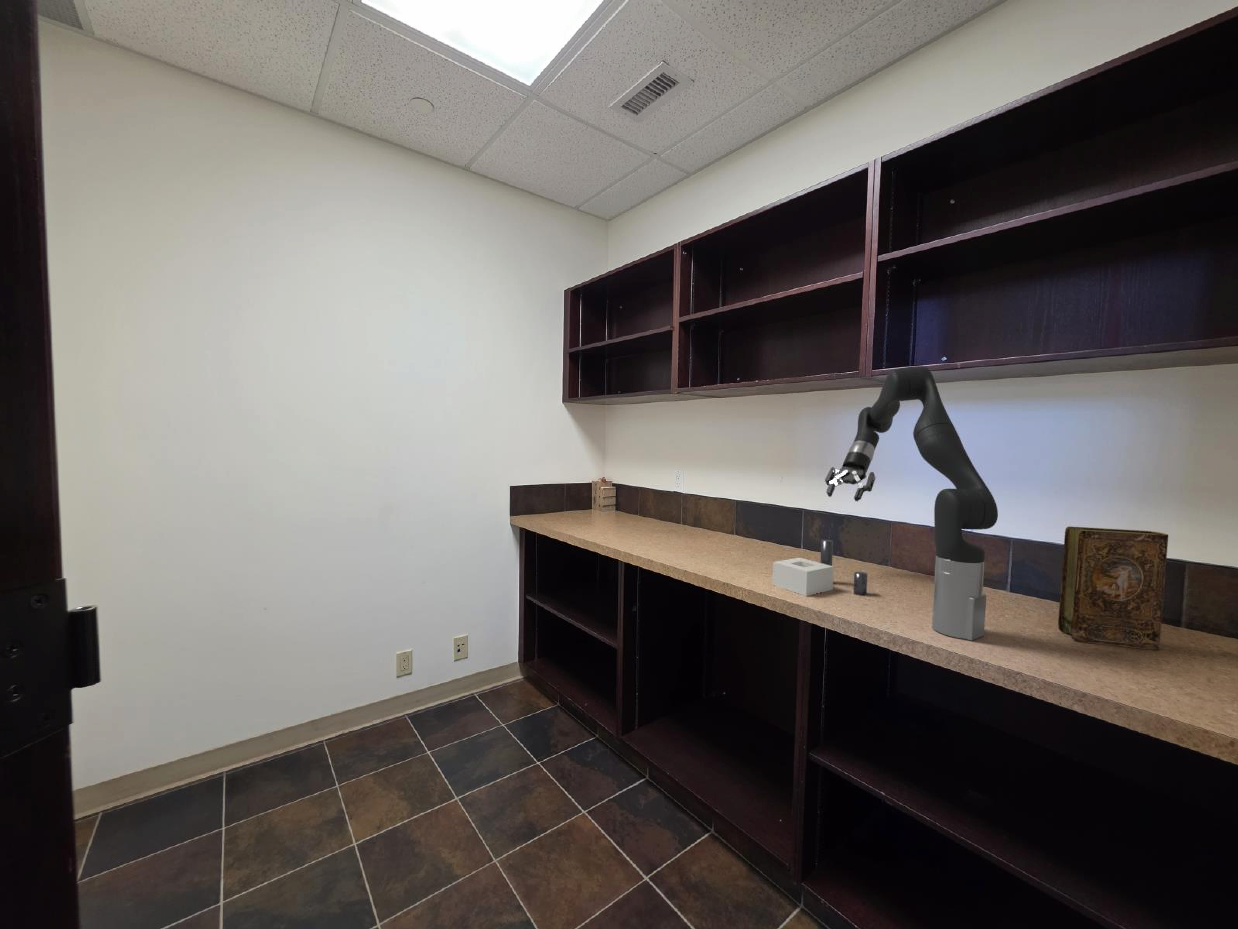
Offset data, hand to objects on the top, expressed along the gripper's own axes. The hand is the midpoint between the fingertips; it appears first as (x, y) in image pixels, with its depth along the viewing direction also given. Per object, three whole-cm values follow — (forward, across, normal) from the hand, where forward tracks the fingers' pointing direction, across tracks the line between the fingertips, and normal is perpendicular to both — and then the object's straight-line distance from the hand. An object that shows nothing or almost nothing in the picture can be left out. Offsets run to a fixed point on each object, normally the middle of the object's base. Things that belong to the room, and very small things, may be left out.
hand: (842, 497), depth 158 cm
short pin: (+28, +13, +6) cm, 31 cm away
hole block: (+33, -1, 0) cm, 33 cm away
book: (+20, +64, +10) cm, 67 cm away
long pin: (+26, +2, +9) cm, 27 cm away
